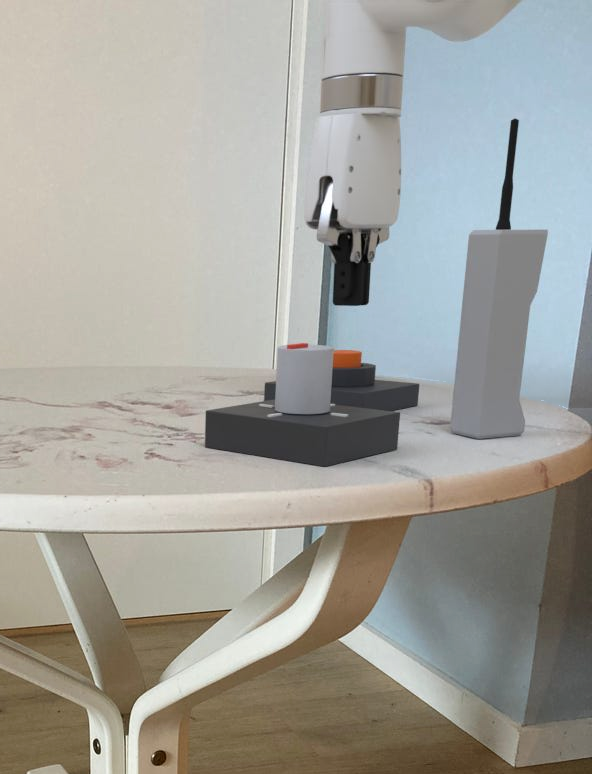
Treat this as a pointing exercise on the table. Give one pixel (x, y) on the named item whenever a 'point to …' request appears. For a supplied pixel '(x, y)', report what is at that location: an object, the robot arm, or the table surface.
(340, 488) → the table surface
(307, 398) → the timer knob
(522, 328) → the vintage mobile phone
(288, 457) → the timer panel
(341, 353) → the button
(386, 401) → the block
